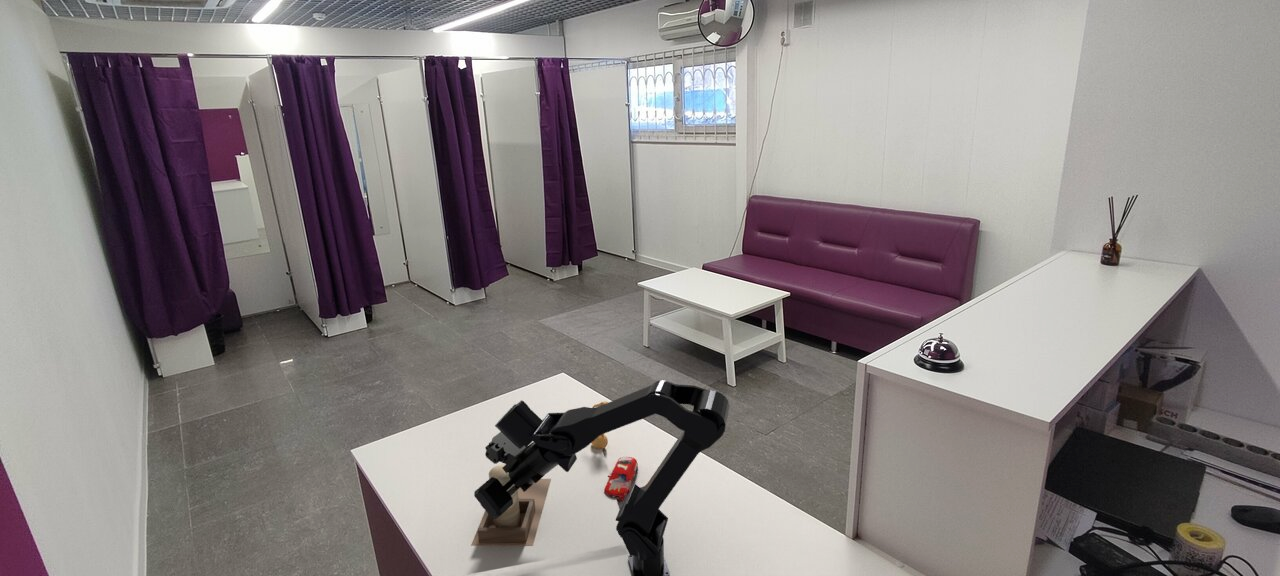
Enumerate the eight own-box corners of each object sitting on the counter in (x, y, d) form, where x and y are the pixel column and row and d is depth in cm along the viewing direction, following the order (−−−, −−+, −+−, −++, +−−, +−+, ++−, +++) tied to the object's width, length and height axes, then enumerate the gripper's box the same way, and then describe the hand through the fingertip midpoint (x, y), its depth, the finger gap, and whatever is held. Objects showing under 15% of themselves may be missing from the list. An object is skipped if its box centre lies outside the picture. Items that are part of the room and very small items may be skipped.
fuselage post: (521, 533, 115) (515, 478, 111) (495, 537, 114) (488, 482, 110) (520, 515, 120) (514, 462, 115) (495, 520, 119) (488, 466, 114)
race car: (625, 506, 124) (624, 490, 122) (601, 502, 125) (600, 486, 124) (641, 468, 136) (641, 453, 134) (619, 464, 137) (618, 450, 136)
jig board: (533, 550, 112) (531, 532, 111) (471, 550, 113) (469, 532, 111) (551, 483, 131) (550, 467, 130) (498, 483, 132) (496, 467, 130)
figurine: (581, 447, 144) (578, 405, 140) (595, 435, 148) (592, 393, 144) (609, 457, 140) (607, 413, 136) (623, 444, 144) (621, 402, 140)
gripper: (542, 401, 115) (504, 435, 123) (475, 451, 99) (437, 487, 108) (578, 445, 114) (537, 477, 122) (516, 503, 98) (475, 535, 107)
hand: (498, 491), depth 115 cm, fingers open, 9 cm apart
